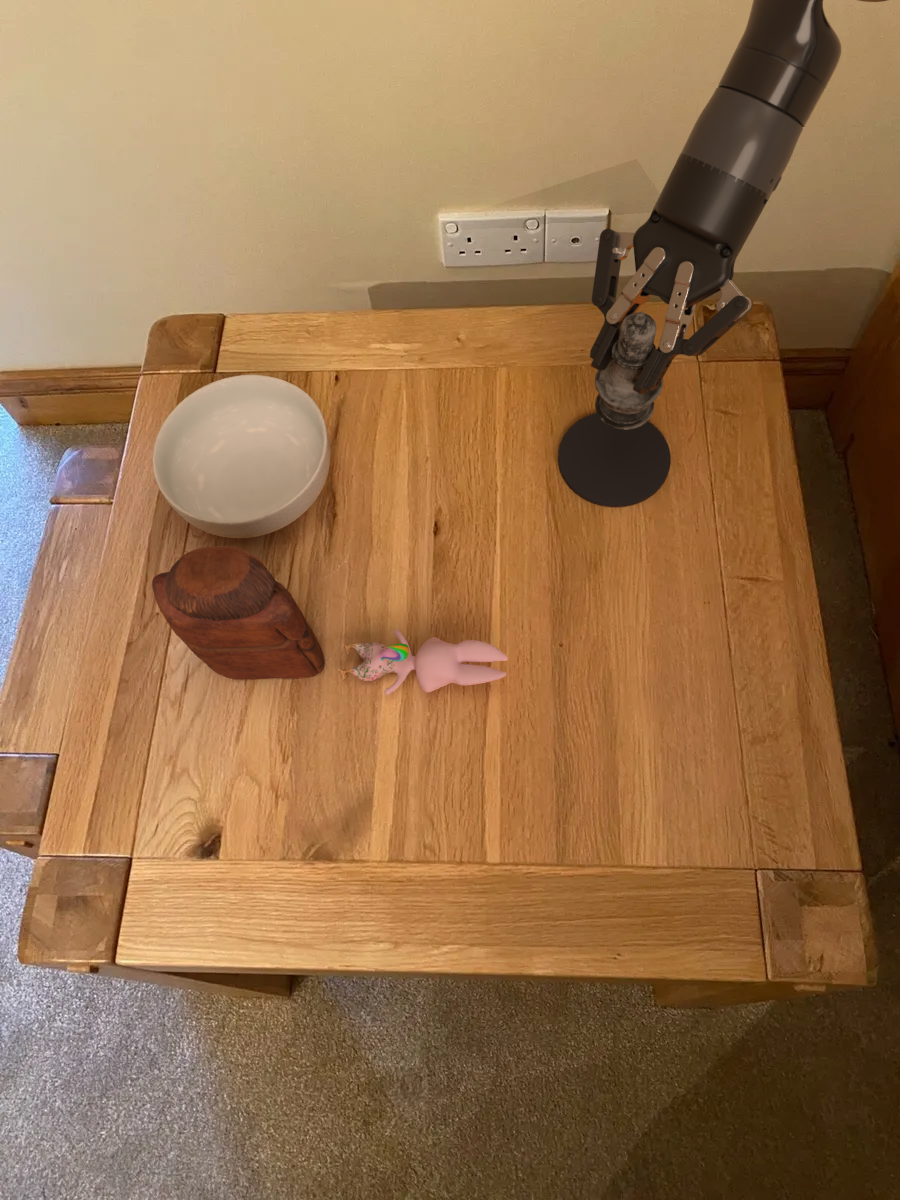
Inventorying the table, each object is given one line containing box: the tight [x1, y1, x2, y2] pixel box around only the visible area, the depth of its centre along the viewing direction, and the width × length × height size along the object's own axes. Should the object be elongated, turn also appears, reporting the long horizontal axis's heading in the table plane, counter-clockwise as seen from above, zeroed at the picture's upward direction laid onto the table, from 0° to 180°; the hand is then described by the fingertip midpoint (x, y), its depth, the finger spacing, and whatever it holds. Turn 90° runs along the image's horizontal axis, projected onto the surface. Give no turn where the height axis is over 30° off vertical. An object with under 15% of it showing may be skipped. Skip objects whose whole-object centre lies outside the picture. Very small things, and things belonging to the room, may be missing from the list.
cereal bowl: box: [152, 374, 332, 539], centre depth 86 cm, size 17×17×7 cm
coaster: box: [557, 412, 672, 508], centre depth 88 cm, size 11×11×1 cm
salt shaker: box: [594, 311, 664, 430], centre depth 75 cm, size 6×6×12 cm
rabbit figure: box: [337, 628, 509, 696], centre depth 78 cm, size 6×6×15 cm
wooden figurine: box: [151, 545, 326, 681], centre depth 74 cm, size 12×6×18 cm, turn 89°
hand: (619, 379), depth 74 cm, fingers closed on salt shaker, 3 cm apart
